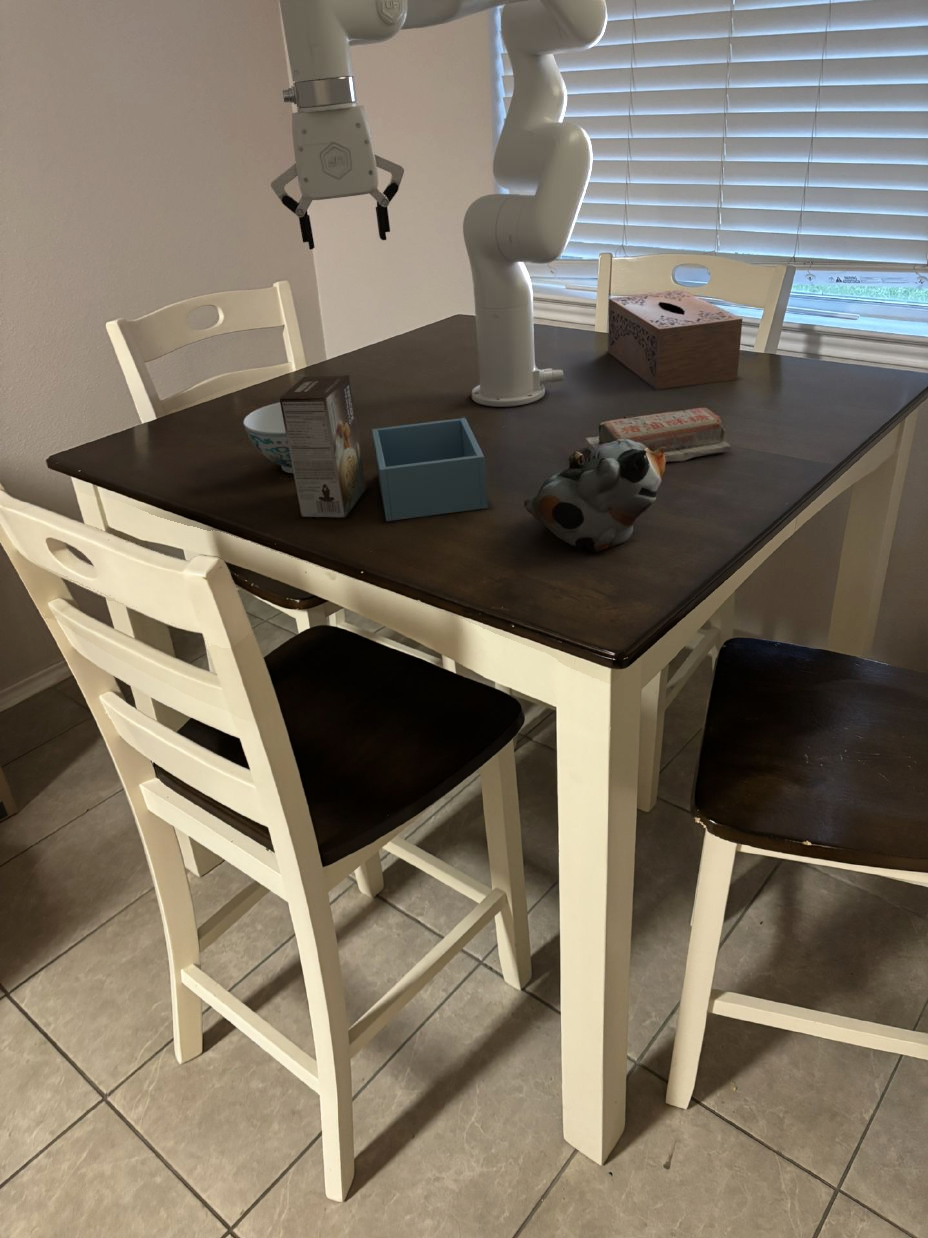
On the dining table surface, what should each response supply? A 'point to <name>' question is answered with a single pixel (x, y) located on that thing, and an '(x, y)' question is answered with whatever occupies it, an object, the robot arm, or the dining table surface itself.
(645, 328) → the tissue box cover
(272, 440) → the chinaware
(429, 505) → the bin
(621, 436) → the packaged product
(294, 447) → the coffee box
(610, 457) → the lucky cat figurine
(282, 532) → the dining table surface
